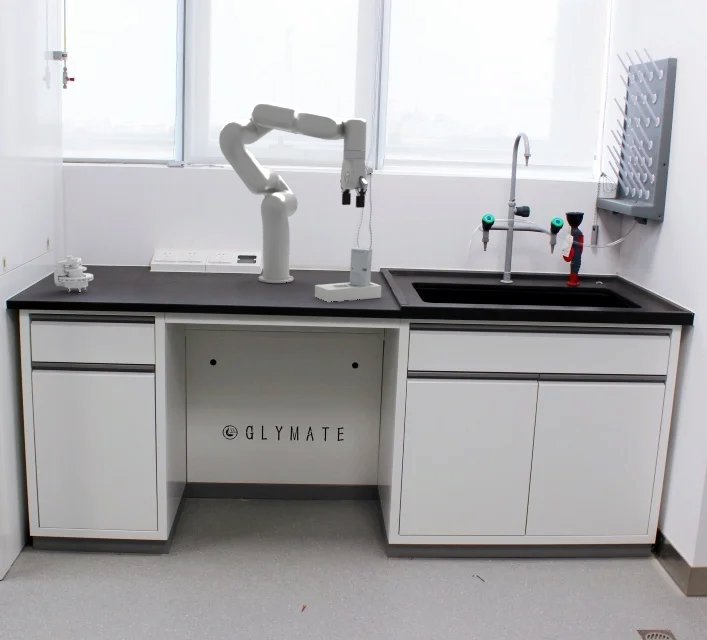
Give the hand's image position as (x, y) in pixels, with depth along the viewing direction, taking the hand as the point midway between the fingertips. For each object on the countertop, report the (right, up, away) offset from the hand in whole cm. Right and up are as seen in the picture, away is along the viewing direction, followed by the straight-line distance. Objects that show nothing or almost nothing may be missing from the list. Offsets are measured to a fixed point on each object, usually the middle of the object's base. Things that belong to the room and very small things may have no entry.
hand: (353, 206), depth 274 cm
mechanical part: (-91, -30, -14) cm, 97 cm away
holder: (-2, -32, -12) cm, 34 cm away
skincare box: (+2, -28, -10) cm, 30 cm away
